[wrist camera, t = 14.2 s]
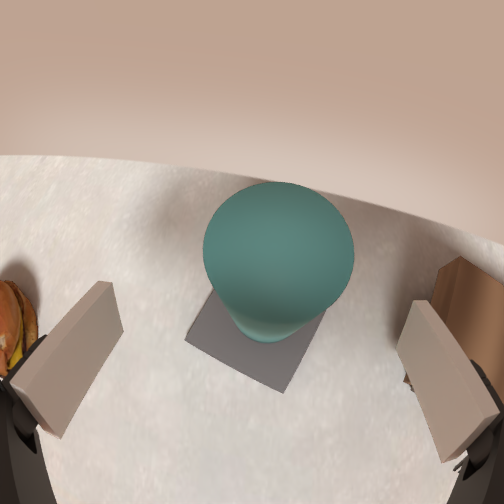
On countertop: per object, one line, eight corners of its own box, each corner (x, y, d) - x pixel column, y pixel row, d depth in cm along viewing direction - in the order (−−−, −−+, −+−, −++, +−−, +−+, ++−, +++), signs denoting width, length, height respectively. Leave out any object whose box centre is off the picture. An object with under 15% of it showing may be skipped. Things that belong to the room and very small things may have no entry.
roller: (312, 293, 21) (371, 218, 10) (282, 355, 19) (317, 351, 8) (252, 264, 22) (248, 163, 11) (220, 323, 20) (174, 277, 9)
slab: (520, 341, 19) (559, 330, 13) (497, 422, 16) (537, 425, 10) (420, 280, 22) (460, 256, 16) (385, 380, 19) (425, 382, 13)
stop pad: (340, 275, 22) (342, 273, 21) (282, 392, 19) (283, 393, 18) (250, 231, 24) (250, 228, 23) (186, 340, 20) (184, 340, 20)
